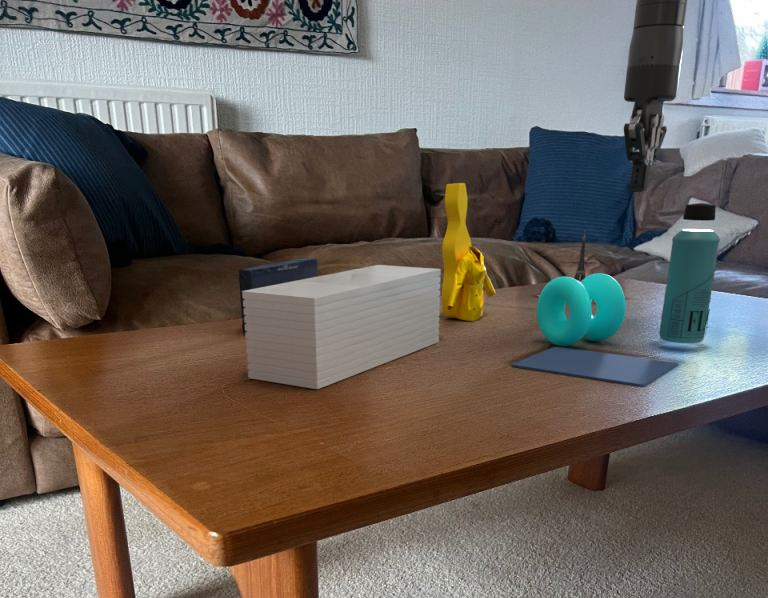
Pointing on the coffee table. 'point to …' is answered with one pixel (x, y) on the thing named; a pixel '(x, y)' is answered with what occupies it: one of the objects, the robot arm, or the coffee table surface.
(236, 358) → the coffee table surface
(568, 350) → the felt mat
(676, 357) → the coffee table surface
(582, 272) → the eiffel tower figurine
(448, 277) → the figure statuette
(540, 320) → the donuts
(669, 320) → the beverage bottle
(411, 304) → the stack of papers
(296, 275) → the vhs cassette tape
